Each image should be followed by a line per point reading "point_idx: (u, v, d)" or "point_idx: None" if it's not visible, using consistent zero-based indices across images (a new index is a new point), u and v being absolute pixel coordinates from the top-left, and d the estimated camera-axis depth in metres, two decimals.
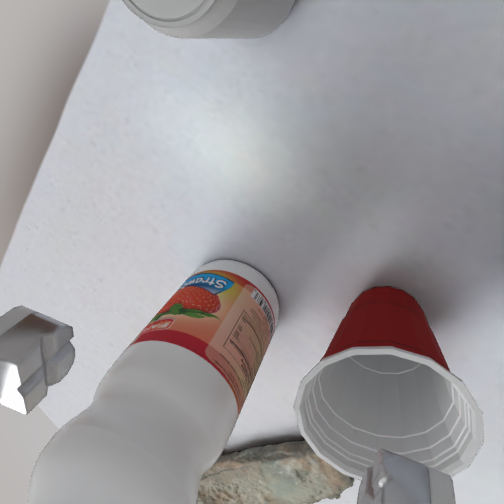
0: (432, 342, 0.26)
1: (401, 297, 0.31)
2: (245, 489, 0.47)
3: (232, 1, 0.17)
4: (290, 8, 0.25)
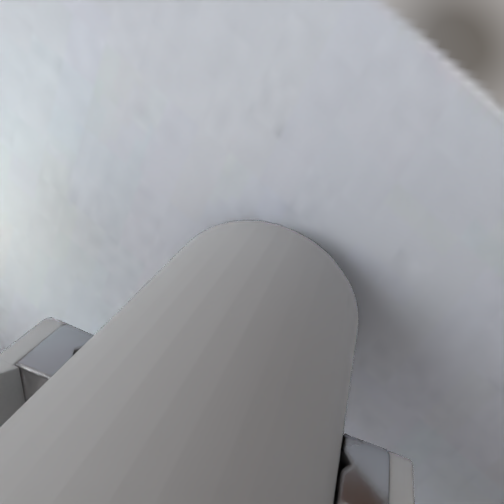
0: None
1: None
2: None
3: None
4: None
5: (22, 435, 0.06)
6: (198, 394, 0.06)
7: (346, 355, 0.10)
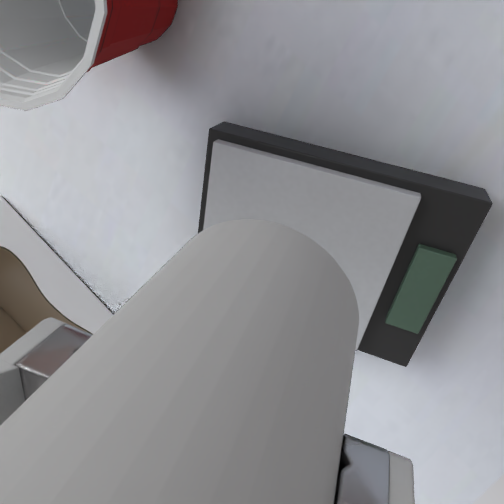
0: (126, 36, 0.20)
1: (169, 0, 0.23)
2: None
3: None
4: None
5: (21, 434, 0.06)
6: (198, 394, 0.06)
7: (346, 354, 0.10)
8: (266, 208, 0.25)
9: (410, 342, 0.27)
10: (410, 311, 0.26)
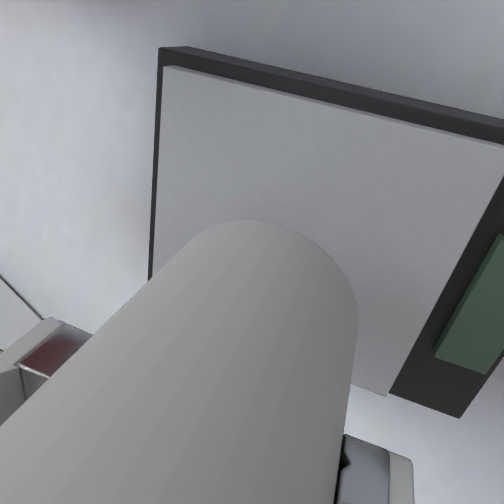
0: None
1: None
2: None
3: None
4: None
5: (20, 435, 0.06)
6: (197, 394, 0.06)
7: (346, 355, 0.10)
8: (250, 177, 0.16)
9: (470, 385, 0.18)
10: (477, 341, 0.16)
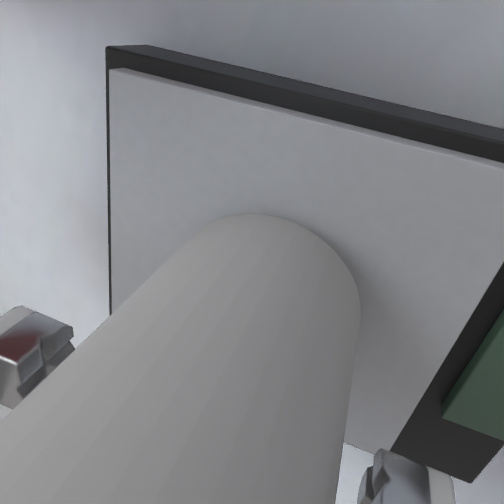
0: None
1: None
2: None
3: None
4: None
5: (34, 416, 0.06)
6: (205, 379, 0.06)
7: (349, 346, 0.10)
8: (219, 204, 0.13)
9: (484, 448, 0.15)
10: (494, 403, 0.13)
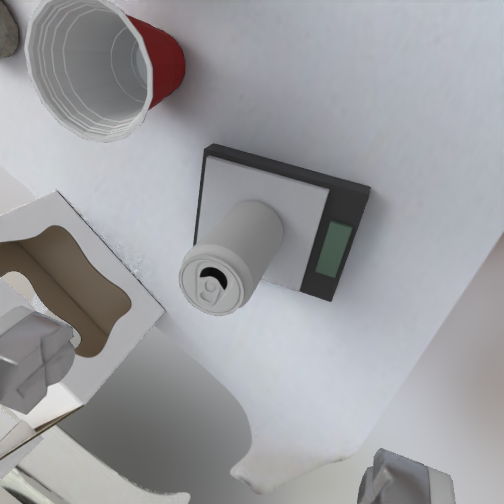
0: (157, 100, 0.35)
1: (180, 73, 0.38)
2: None
3: None
4: None
5: (211, 233, 0.33)
6: (240, 229, 0.34)
7: (275, 234, 0.37)
8: (239, 198, 0.41)
9: (332, 284, 0.43)
10: (329, 263, 0.41)
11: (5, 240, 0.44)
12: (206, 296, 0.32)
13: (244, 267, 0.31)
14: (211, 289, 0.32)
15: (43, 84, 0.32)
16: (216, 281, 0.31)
